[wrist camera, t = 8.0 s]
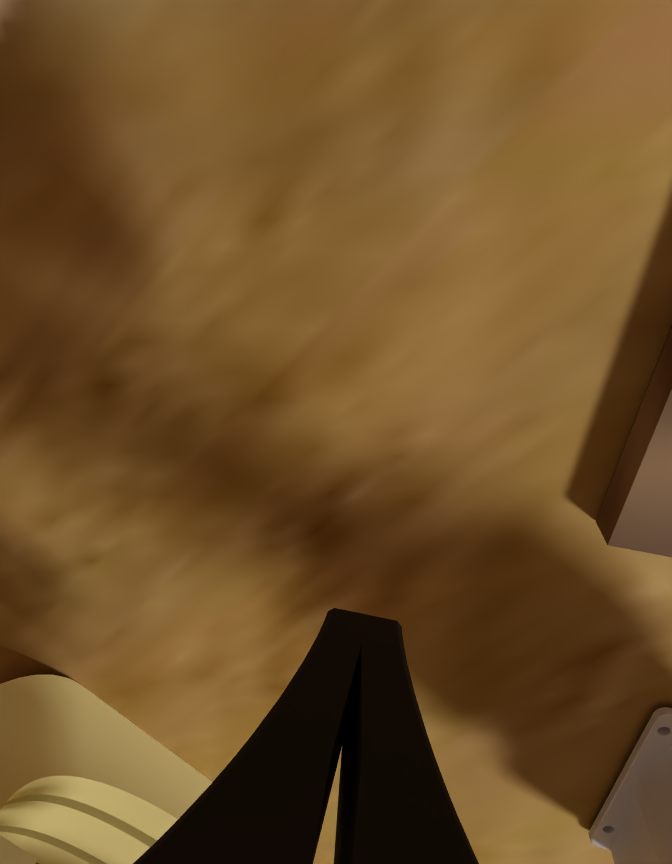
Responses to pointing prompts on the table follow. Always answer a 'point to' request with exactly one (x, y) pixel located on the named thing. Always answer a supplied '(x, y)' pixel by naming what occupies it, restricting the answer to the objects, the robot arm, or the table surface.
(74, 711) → the slatted curved stool
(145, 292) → the table surface
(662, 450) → the brown flat slab
